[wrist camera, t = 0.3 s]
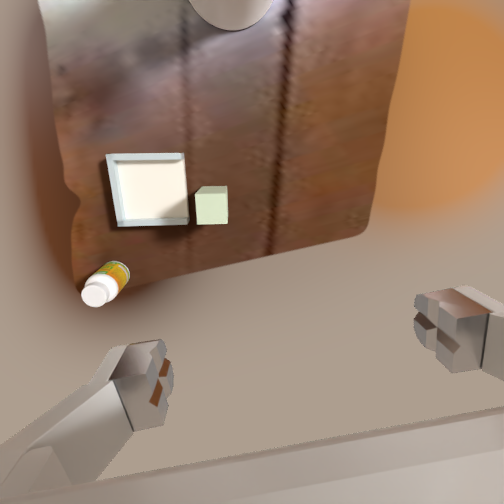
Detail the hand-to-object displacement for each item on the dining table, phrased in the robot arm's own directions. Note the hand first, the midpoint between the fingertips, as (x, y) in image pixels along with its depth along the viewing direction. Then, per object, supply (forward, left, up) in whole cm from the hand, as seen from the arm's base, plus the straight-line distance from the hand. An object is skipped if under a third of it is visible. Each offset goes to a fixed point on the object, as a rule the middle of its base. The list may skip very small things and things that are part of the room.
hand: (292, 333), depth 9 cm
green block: (+2, -5, -45) cm, 46 cm away
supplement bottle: (+16, -25, -46) cm, 54 cm away
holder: (0, -16, -45) cm, 48 cm away
